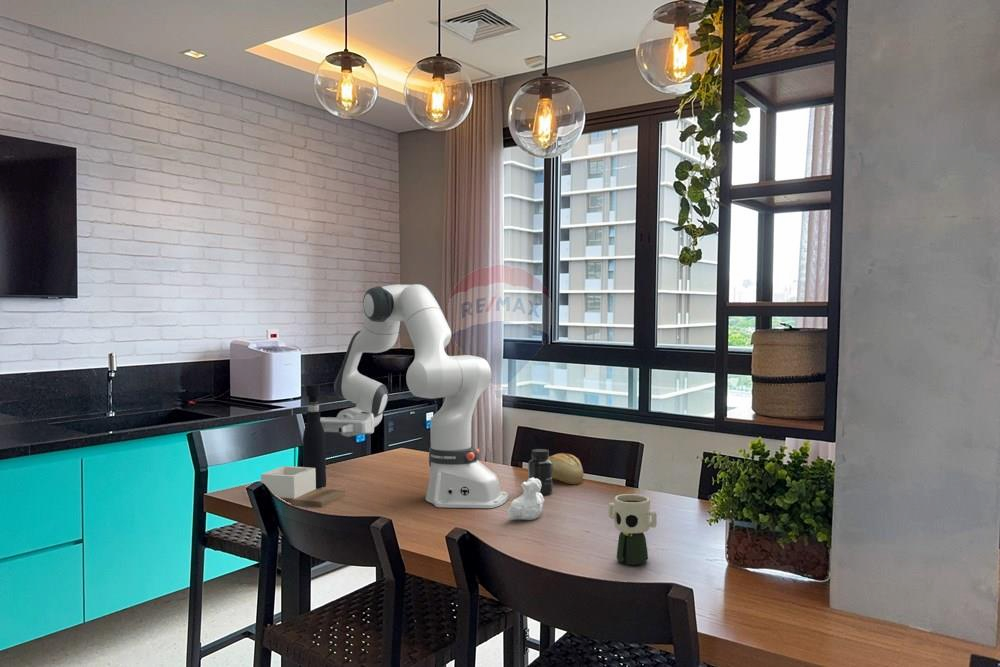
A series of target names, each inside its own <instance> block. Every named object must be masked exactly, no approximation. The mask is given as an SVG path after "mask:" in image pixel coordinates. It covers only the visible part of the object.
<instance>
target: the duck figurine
mask: <svg viewBox="0 0 1000 667" xmlns="http://www.w3.org/2000/svg"><path fill="white" fill-rule="evenodd" d="M520 487H521V488H522V490H523V492H522V494H520V495H519V497H517V498H514V499H513V500H512V501H511V503H510V505H509V507H508V509H507V514H508V518H509V520H512V521H516V520H517V521H519V520H520V521H522V520H525V521H532V520H535V519H537V518H539V517H540V515H541V513H542V512H543V506H544V502H545V499H544V495H542V494H541V493H539V492H540V490H541V481H540V480H539V479H537V478H536V479H535V478H533V477H532V478H529V479H527V481H523V482H522V483H521V484H520Z"/></svg>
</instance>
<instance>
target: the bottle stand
mask: <svg viewBox="0 0 1000 667" xmlns="http://www.w3.org/2000/svg"><path fill="white" fill-rule="evenodd" d="M261 482H264V484H265V485H266V486H267V487H268V488H269V489H270V490H271V491H272V492H273V493H274V494H275V495H277V496H278V497H280V498H281V499H283V500H285V501H286V502H289V503H291V504H294V505H293V506H301V507H311V508H323V506H324V507H326V506H328V505H329V503H330V504H332V503H333V501H334V502H336V501H337V499H338V500H339V498H340V499H341V497H342V498H343V496H344V497H346V490H344V489H343V490H342V489H333V488H332V489H329V488H316V472H315V468H308V467H303V466H287V465H283V466H280V467H277V468H273V469H272V470H268V471H266V472H263V473H260V483H261ZM335 500H336V501H335ZM331 502H332V503H331ZM327 504H328V505H327ZM325 505H326V506H325Z"/></svg>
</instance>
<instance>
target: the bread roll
mask: <svg viewBox="0 0 1000 667" xmlns="http://www.w3.org/2000/svg"><path fill="white" fill-rule="evenodd" d="M548 459H549V460H551V462H552V480H553V479H554V480H557V481H559V482H562V483H565V484H570V485H578V484H580V483H581V482H582V481H583V478H584V469H583V466H582V463H581V461H580V459H579V458H578V457H576V456H575V455H573V454H571V453H565V452H560V453H555V454H553V455H549V457H548Z"/></svg>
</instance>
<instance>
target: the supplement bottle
mask: <svg viewBox="0 0 1000 667" xmlns="http://www.w3.org/2000/svg"><path fill="white" fill-rule="evenodd" d="M530 457H531V458H532V459H530V460H529V461H528V465H527V466H528V467H527V468H528V469H527V475H528V476H527V478H528V479H529V478H532V477H533V478H535V479H536V478H537V479H539V480H540V481H541V490H540V492H539V493H541V494H542V496H549V495H552V493H553V486H554V484H553V478H552V462H551V460H549V459H548V457H550V451H549V449H545V448H544V449H543V448H536V449H532V450H531V456H530ZM528 479H527V480H528Z"/></svg>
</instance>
